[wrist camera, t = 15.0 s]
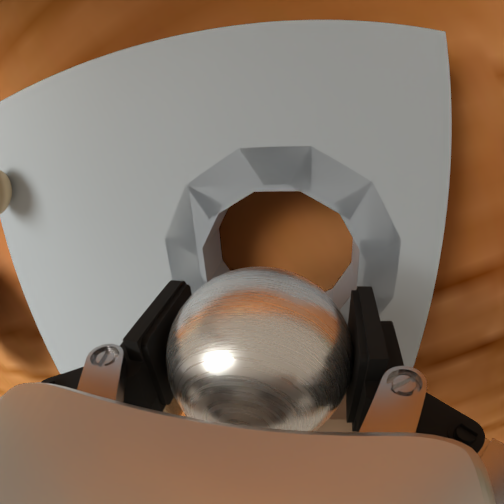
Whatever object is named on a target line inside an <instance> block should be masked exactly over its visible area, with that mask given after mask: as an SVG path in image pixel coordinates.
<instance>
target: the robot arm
mask: <svg viewBox="0 0 504 504" xmlns="http://www.w3.org/2000/svg"><path fill="white" fill-rule="evenodd" d="M191 295H192V293H191V288H190V285H187V284H186V282H185V281H178V280H171V281H169V283H168V284H167V285H166V286H165V287H164V289H163V290H162V291H161V292H160V293H159V295H158V296H157V297H156V298H155V300H154V301H153V302H152V303H151V304H150V306H149V307H148V308H147V309H146V311H145V312H144V313H143V314H142V316H141V317H140V318H139V319H138V321H137V322H136V323H135V324H134V326H133V327H132V328H131V329H130V331H129V332H128V333H127V334H126V336H125V337H124V338H123V342H122V343H121V345H120V346H118V345H116V344H104V345H100V346H98V347H96V348H94V349H93V350H92V351H91V352H90V353H89V354H88V356H87V358H86V361H85V364H84V367H81V368H78V369H75V370H72V371H69V372H66V373H63V374H60V375H57V376H54V377H51V378H48V379H46V380H43V381H42V382H39V383H23V384H19V385H16V386H14V387H13V388H11V389H10V390H9V391H7V392H6V393H5V394H4V395H3V396H2V397H1V398H0V504H504V444H503V443H501V442H499V441H498V440H496V439H494V438H492V440H491V441H490V440H488V439H486V438H485V434H484V431H483V429H482V427H481V426H480V425H479V424H478V423H477V422H475V421H474V420H472V419H471V418H469V417H467V416H465V415H464V414H462V413H460V412H459V411H457V410H455V409H453V408H452V407H450V406H448V405H447V404H445V403H443V402H442V401H440V400H438V399H436V398H435V397H433V396H431V395H430V394H428V393H426V390H427V380H426V377H425V376H424V375H423V374H422V373H421V372H420V371H419V370H417V369H415V368H412V367H409V366H404V363H403V359H402V355H401V351H400V347H399V343H398V340H397V336H396V332H395V328H394V325H393V322H392V321H380V317H379V313H378V309H377V304H376V300H375V296H374V292H373V289H372V287H371V286H357V289H356V290H351V298H350V308H349V317H348V329H349V332H350V336H351V340H352V347H353V367H352V374H351V379H350V383H349V386H348V389H347V391H346V421H347V423H352V432H320V431H298V430H284V429H272V428H262V427H252V426H244V425H236V424H228V423H221V422H215V421H208V420H202V419H196V418H191V417H185V416H180V415H175V414H170V413H165V412H163V410H164V408H165V406H166V405H169V404H170V403H171V402H172V400H173V398H174V395H173V392H172V390H171V387H170V383H169V380H168V376H167V369H166V347H167V340H168V336H169V333H170V330H171V327H172V324H173V322H174V320H175V318H176V316H177V314H178V312H179V310H180V309H181V307H182V306H183V305H184V303H185V302H186V301H187V300H188V299H189V297H190V296H191Z"/></svg>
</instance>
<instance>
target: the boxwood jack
mask: <svg viewBox="0 0 504 504" xmlns="http://www.w3.org/2000/svg"><path fill="white" fill-rule="evenodd" d="M11 197H12V185H11V182H10V179H9V178H8V176H7V175H6V174H5V173H4V172H2V171H1V170H0V214H1V213H3V212H4V211H5V210H6V208H7V207H8V205H9V203H10V201H11Z"/></svg>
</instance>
